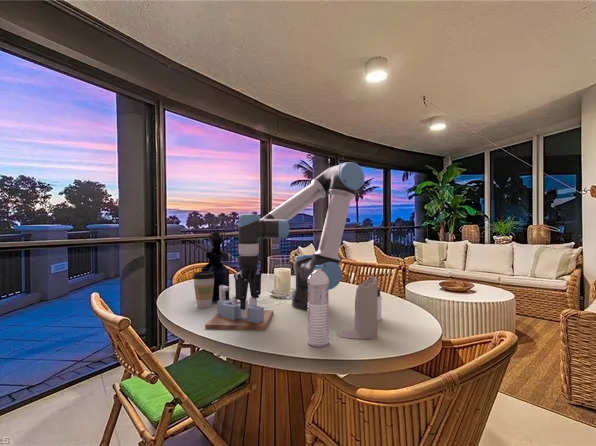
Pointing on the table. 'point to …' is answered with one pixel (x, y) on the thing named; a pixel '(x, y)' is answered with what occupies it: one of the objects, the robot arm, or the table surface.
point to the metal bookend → (364, 312)
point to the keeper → (222, 291)
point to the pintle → (234, 300)
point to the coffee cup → (204, 288)
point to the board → (238, 323)
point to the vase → (217, 264)
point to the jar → (378, 305)
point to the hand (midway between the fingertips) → (248, 316)
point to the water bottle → (318, 308)
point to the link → (234, 312)
